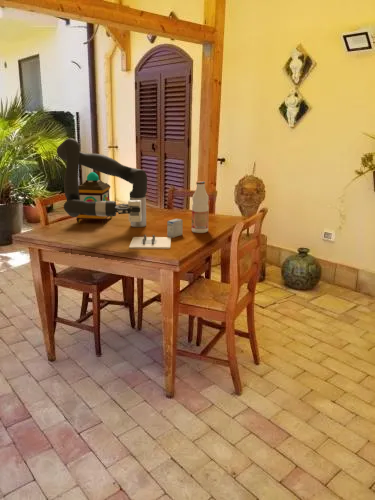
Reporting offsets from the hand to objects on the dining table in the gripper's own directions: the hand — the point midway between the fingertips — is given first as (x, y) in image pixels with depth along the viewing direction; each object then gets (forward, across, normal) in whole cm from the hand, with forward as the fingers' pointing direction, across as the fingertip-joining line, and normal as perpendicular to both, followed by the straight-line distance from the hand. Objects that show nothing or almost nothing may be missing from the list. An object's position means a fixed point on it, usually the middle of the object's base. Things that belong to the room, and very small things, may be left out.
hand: (140, 208), depth 203 cm
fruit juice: (+31, +26, +18) cm, 44 cm away
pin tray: (+5, 0, +18) cm, 19 cm away
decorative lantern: (-33, +49, +18) cm, 62 cm away
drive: (-3, 0, +6) cm, 7 cm away
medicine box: (+17, +15, +18) cm, 29 cm away
